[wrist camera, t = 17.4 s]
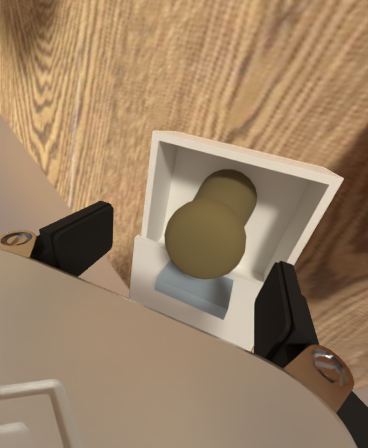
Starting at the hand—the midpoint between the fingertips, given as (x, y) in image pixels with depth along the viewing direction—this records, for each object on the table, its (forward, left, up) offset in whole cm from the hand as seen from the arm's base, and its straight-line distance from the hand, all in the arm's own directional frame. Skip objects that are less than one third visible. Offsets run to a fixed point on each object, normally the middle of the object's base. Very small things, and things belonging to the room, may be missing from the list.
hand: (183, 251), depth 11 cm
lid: (+1, -12, -7) cm, 13 cm away
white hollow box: (+1, -2, -12) cm, 12 cm away
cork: (+1, 0, -12) cm, 12 cm away
